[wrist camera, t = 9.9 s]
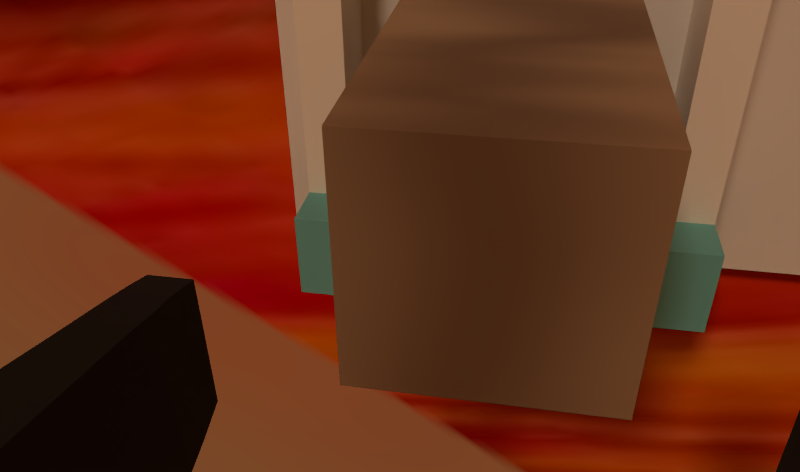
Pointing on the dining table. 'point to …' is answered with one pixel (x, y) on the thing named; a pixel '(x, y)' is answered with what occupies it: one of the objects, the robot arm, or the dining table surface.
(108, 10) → the dining table surface
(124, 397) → the robot arm
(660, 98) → the brown rectangular block
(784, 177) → the white tray
